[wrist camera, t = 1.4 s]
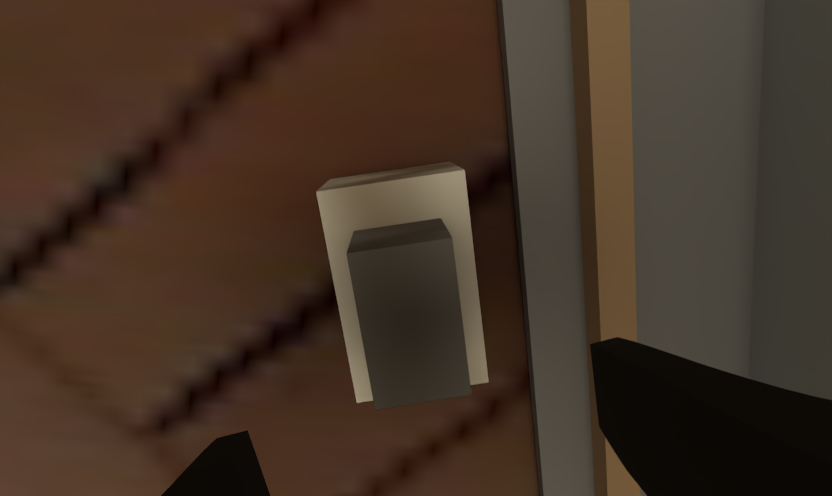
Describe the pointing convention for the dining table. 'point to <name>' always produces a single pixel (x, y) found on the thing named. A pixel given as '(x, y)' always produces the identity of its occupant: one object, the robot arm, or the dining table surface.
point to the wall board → (667, 200)
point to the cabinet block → (405, 283)
